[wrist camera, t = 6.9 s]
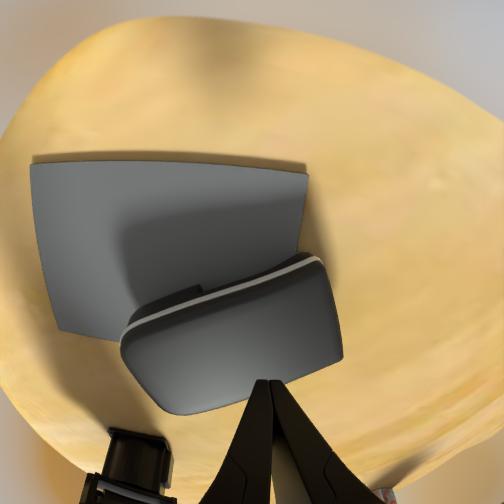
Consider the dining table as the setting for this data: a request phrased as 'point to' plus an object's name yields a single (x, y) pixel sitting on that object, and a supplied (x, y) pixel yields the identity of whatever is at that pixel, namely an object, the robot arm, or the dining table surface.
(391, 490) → the juice carton
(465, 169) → the dining table surface
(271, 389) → the robot arm
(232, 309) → the battery charger
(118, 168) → the mat
